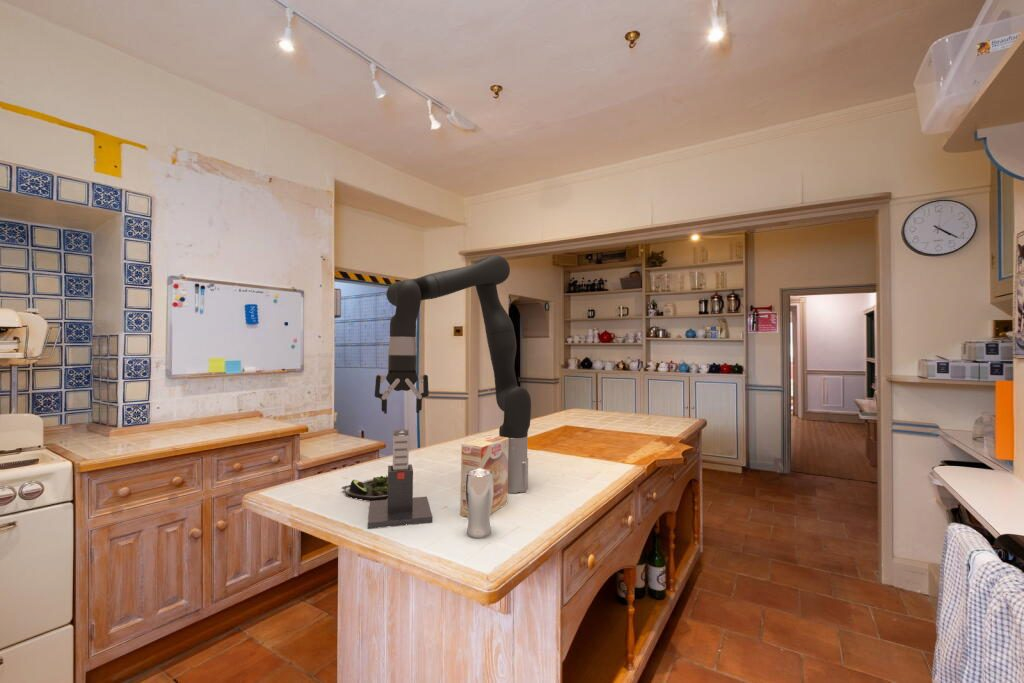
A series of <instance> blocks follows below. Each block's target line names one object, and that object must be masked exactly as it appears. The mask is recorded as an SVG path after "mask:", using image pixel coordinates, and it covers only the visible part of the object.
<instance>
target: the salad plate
mask: <svg viewBox="0 0 1024 683" xmlns="http://www.w3.org/2000/svg"><path fill="white" fill-rule="evenodd" d="M340 489H342V490H344V492H345V494H346V496H347V495H348V496H349V497H348V496H347V497H348V498H350V497H352V498H351V499H354V498H357V499H356V500H359V499H362V500H361V501H364V500H369V501H368V502H370V501H377V500H385V499H386V500H388V474H387V475H386V476H382V475H380V476H376V477H373V478H372V479H367V480H364V481H359V480H357V479H352V480H351V483H350V484H349V485H345V486H341V487H340Z"/></svg>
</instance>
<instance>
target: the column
mask: <svg viewBox="0 0 1024 683" xmlns="http://www.w3.org/2000/svg"><path fill="white" fill-rule="evenodd" d="M392 434H393V435H392V465H393V471H401V470H408V465H409V456H410V455H409V447H410V445H409V444H410V442H409V441H410V434H409V429H404V428H402V429H401V428H400V429H399V428H398V429H394V430H393V432H392Z"/></svg>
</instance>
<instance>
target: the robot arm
mask: <svg viewBox="0 0 1024 683" xmlns="http://www.w3.org/2000/svg"><path fill="white" fill-rule="evenodd" d="M510 271H511V268H510V264H509V262H508V260H507V259H506V258H505V257H503V256H501V255H498V254H497V255H496V254H493V255H488V256H486V257H483V258H480V259H478V260H476V261H475V262H474V264H470V265H467V266H463V267H458V268H453V269H447V270H443V271H437V272H434V273H429V274H426V275H423V276H420V277H417V278H416V277H415V278H411V279H404V280H400V281H396V282H393V283H391V284H389V286H388V287H387V290H386V299H387V301H388V302H389V303H390V304H391V305H392V306H394V307H395V314H393V316H392V317H391V318H390V320H389V321H390V323H389V339H388V340H389V341H388V351H387V352H388V354H387V357H388V360H387V362H388V363H387V364H388V365H387V375H381V374H377V375H376V376H375V386H374V397H375V398H376V399H377V398H378V399H380V400H381V412H383V414H385V415H387V414H388V413H387V411H388V399H387V398H388V397H389V395H390V394H391V393H392V392H393V391H396V392H400V391H404V392H408V391H411V392H413V394H414V395H415V396H416V401H415V412H416V413H420V412H421V411H422V408H423V406H422V405H423V403H422V402H423V399H424V398H427V397H428V396H429V376H428V375H427V374H422V375H418V374H417V357H418V355H417V353H418V350H417V349H418V345H417V319H418V317H419V313H420V307H421V304H422V301H425V300H433V299H437V298H441V297H445V296H448V295H452V294H454V293H456V292H460V291H462V290H466V289H468V288H471V287H472V288H473V287H475V289H476V292H477V296H478V299H479V303H480V308H481V314H482V318H483V325H484V330H485V336H486V342H487V346H488V351H489V355H490V357H489V358H490V361H491V365H492V370H493V378H494V386H495V387H494V388H495V400H496V403H497V406H498V409H500V410H501V411H503V423H502V424H501V425H500V427H499V430H498V431H499V432H498V433H499V434H498V435H499V436H501V437H507V438H509V448H508V494H519V493H518V492H520V493H526V492H527V489H528V488H529V457H528V437H529V434H528V432H529V429H530V426H531V418H532V417H531V414H532V413H531V412H532V400H531V395H530V393H529V391H528V390H527V389H525V388H524V387H523V386H519V385H518V382H517V381H518V380H517V376H516V370H515V363H516V362H515V360H516V354H517V338H516V332H515V328H514V324H513V321H512V319H511V317H510V316H509V314H508V313H507V311H506V310H505V308H504V306H503V305H502V303H501V301H500V298H499V293H498V289H497V285H500V284H502V283H504V282H505V281H506V280H507V279H508V278H509V277H510V273H511V272H510ZM385 380H386V381H387V382H388V384H389V386H388V387H387V388H386V390H385V391H384V392H383V393H380V391H381V384H383V383H384V381H385ZM418 380H419V382H420V383H421V384H422V387H423V388H422V389H423V390H422V391H423V392H420V391H419V390H418V389H417V388H416V386H415V384H416V383H417V382H418ZM527 487H528V488H527Z"/></svg>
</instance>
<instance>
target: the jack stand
mask: <svg viewBox="0 0 1024 683" xmlns="http://www.w3.org/2000/svg"><path fill="white" fill-rule="evenodd" d="M387 475H388V499H386V500H377V501H369V506H368V507H369V508H368V518H367V529H368V528H370V529H378V528H377V527H381V528H388V527H387V526H391V527H398V525H402V526H409V525H408V524H412V525H419V523H422V524H432V523H433V514H432V510H431V506H430V504H429V499H428V497H427V496H418V497H416V496H414V468H413V465H412V464H411V463H410V464H409V463H408V470H401V471H393V464H392V465H387ZM406 524H407V525H406ZM375 527H376V528H375Z"/></svg>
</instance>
